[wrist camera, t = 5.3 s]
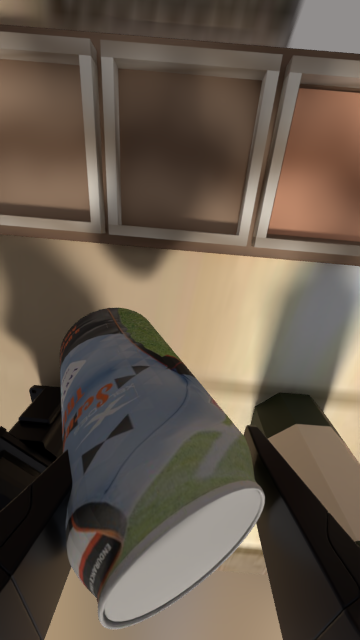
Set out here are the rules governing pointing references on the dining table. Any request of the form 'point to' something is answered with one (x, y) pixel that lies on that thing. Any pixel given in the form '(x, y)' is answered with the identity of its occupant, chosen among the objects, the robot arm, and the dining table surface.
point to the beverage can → (146, 469)
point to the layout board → (180, 144)
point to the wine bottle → (314, 454)
